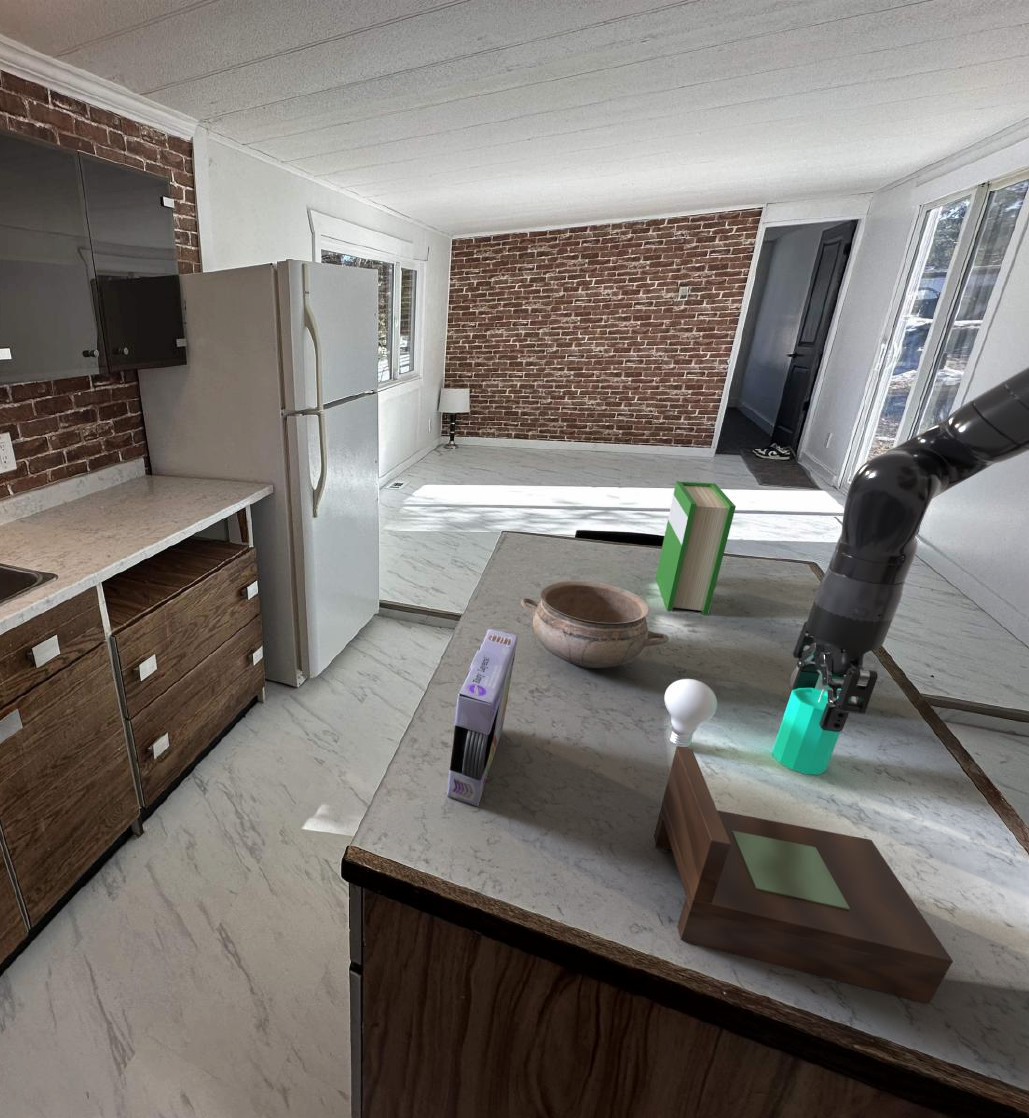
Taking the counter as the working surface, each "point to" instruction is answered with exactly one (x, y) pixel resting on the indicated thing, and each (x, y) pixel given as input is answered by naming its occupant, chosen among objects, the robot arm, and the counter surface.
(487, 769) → the cake pan box
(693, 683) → the lightbulb
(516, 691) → the counter surface
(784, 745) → the candle
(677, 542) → the hardback book
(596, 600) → the cooking pot
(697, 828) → the shelf
